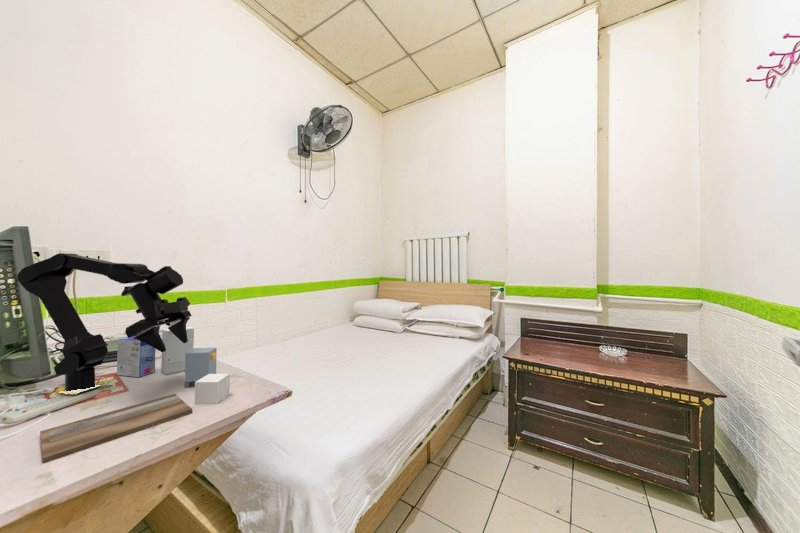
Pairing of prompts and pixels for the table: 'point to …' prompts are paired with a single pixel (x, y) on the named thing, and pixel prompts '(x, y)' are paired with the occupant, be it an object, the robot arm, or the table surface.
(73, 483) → the table surface
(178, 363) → the skincare box
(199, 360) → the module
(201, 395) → the white cube
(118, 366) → the ink cartridge box
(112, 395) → the table surface
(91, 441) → the rail board
